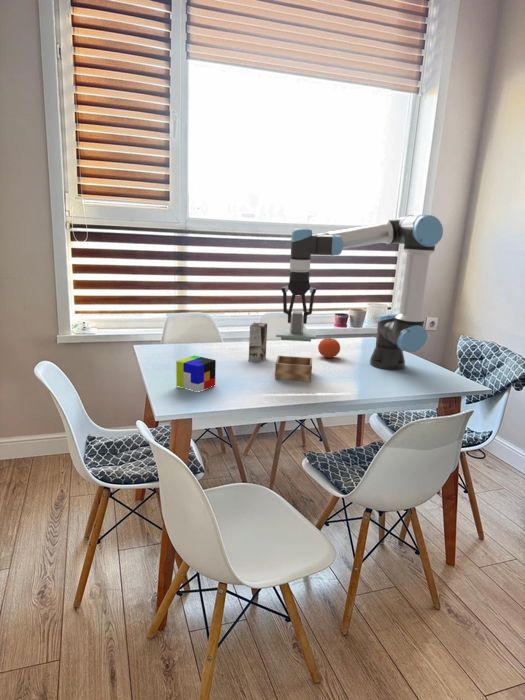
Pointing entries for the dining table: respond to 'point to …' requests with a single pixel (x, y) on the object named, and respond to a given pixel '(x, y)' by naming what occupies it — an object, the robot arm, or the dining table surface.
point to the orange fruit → (329, 347)
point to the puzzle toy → (195, 373)
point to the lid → (296, 330)
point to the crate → (293, 368)
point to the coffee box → (257, 342)
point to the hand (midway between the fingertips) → (296, 331)
